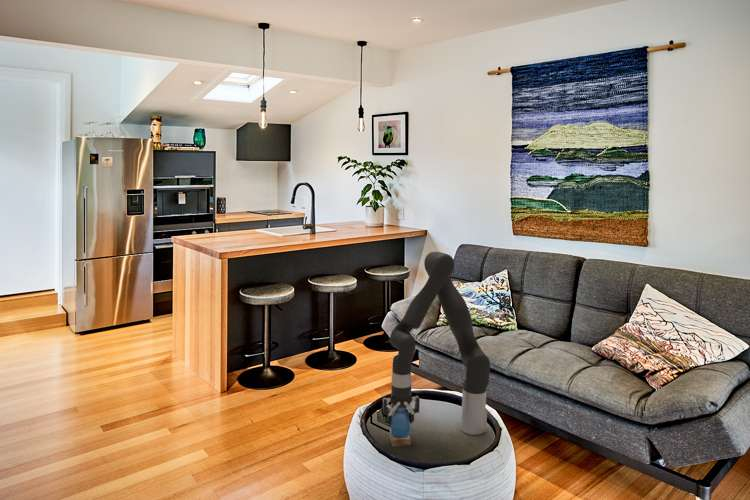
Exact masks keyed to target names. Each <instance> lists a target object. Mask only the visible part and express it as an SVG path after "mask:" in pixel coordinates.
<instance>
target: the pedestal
mask: <svg viewBox="0 0 750 500" xmlns="http://www.w3.org/2000/svg"><path fill="white" fill-rule="evenodd" d="M409 433H410V432H409ZM409 433H408V437H403V436H393V435H391V429H390V430H389V434H388V436H389V440H390V443H391V445H392V447H402V446H403V447H405V446H411V445H412V439H411V436H410V434H409Z"/></svg>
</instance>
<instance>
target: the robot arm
mask: <svg viewBox="0 0 750 500" xmlns="http://www.w3.org/2000/svg"><path fill="white" fill-rule="evenodd" d="M423 261H424V262H423V263H424V266H423V267H424V270H425V271H426V274H427V275H428V279H427V281H426V282H425V284H424V286H423V287H422V288H421V289H420V291H419V292H418V293H417V294H416V295H415V296H414V298H413V299H412V301H411V302H410V303H409V305H408V308H407V310H406V311H405V313H404V315H403V317H402V319H400V321H399V322H398V323H397V324H396V326H395V327H394V328H393V330H392V331H391V333H390V337H389V342H390V345H391V346H392V347H394V348H395V349H397V350H398V353H397V354H396V355H394V356H393V359H392V373H391V385H390V386H391V387H390V388H391V390H390V392H391V393H390V397H385V396H383V398H382V412H383V413H382V414H383V415H384V416H387V421H386V422H387V423H388V424H389V425H390V426H391V420H392V417H393V414H394V411H395V410H396V409H397V408H398V407H399V405H400V404H404V407H405V409H407V410H408V412H409V413H410V424H413V423H414V421H415V414H418V413H420V400H421V399H420V398H419V395H418V394H417V395H415V396H412V385H413V384H412V383H413V378H412V377H413V376H412V361H413V358H414V355H415V350H416V345H417V344H416V339H415V338H414V336H413V335H411V334H410V333H411V332H412V331H413V330H418V329H419V328H420V327H421V325H422V323H423V322H424V320H425V317H426V316H427V313H428V312H429V309H430V308H431V305H432V304H433V302H434V300H435V299H436V297H438V300H439V303H440V305H441V308H442V311H443V314H444V316H445V319H446V322H447V324H448V326H449V328H450V330H451V333H452V335H453V337H454V338H455V340H456V343H457V345H458V350H459V354H460V357H461V362H462V363H463V364H462V365H463V366H464V367H465V369H466V375H465V379H464V381H463V382H462V395H461V397H462V399H461V422H460V430H461V431H462V432H463V433H465V434H466V435H471V436H479V435H482V434H484V433H487V424H488V423H487V422H488V421H487V419H488V409H487V408H486V404H487V390H488V389H487V388H488V386H489V383H490V373H491V372H490V371H491V362H490V359H489V357H488V355H487V354H486V353H485V352H484V351H483V350H482V349H481V347H480V345H479V343H478V341H477V338H476V337H475V334H474V327H473V325H474V324H473V319H472V316H471V313H470V310H469V307H468V304H467V303H466V300H465V299H464V297H463V295H462V294H461V293H460V292H459V289H457V287H456V286H455V285H454V283H453V280H452V279H451V275H452V273H453V272H454V269H455V267H456V266H455V259H454V258H453V257H452V256H451V255H450V254H448V253H445V252H441V251H431V252H428V253H427V254H426V257H425V258H424V260H423ZM412 401H413V403H414V408H413V407H412V406H411V403H412ZM389 403H391V404H390V405H389ZM388 405H389V408H388Z"/></svg>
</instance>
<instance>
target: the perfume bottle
mask: <svg viewBox="0 0 750 500" xmlns="http://www.w3.org/2000/svg"><path fill="white" fill-rule="evenodd" d="M390 426H391V428H390V430H391V435H393V436H403V437H408V433H410V430H411V428H410V427H411V423H410V411H409V410H408V408H406V409H405V407H404V404H400V405H399V407H398V408H397V409H396V410H395V411H394V412H393V413H392V420H391V425H390Z"/></svg>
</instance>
